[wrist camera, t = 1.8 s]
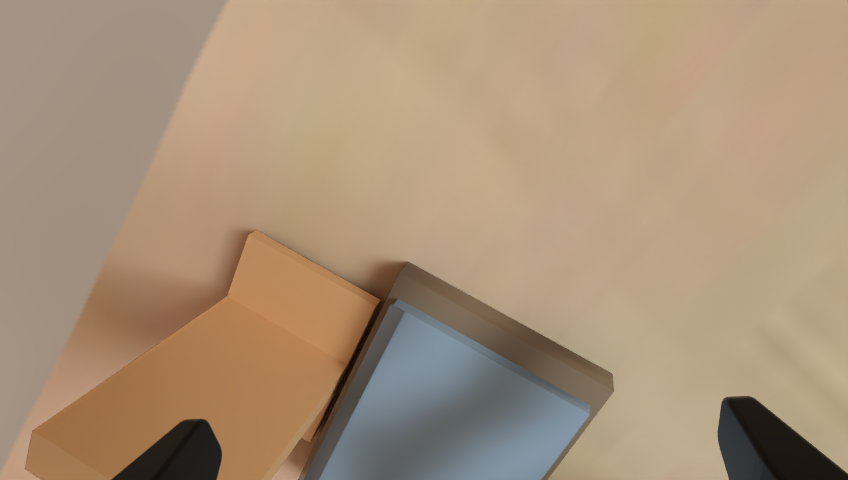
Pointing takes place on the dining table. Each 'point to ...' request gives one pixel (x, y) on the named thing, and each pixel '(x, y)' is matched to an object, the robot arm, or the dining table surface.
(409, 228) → the dining table surface
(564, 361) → the ticket holder
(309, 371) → the tan upright slab stand
